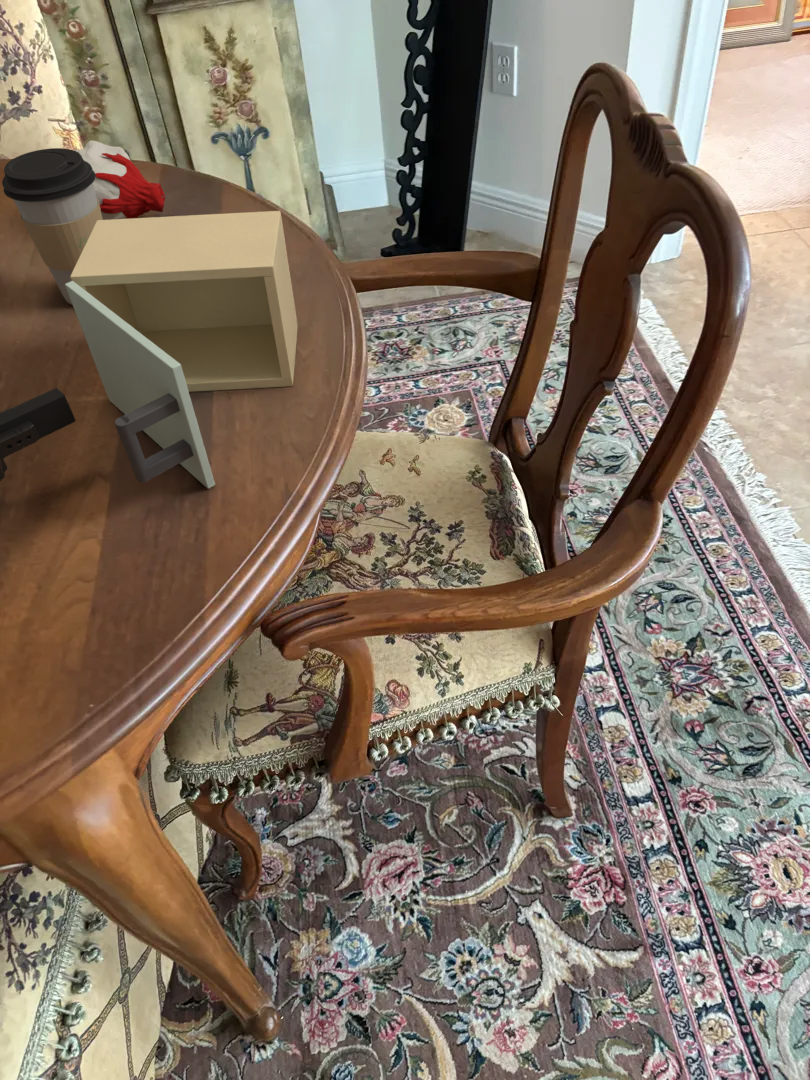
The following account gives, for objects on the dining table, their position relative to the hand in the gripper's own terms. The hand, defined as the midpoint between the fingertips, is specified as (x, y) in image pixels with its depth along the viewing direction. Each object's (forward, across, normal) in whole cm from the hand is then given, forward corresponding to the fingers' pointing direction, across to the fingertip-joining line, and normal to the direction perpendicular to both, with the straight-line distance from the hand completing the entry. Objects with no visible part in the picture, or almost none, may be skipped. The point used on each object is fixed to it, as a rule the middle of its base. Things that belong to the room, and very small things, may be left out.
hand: (66, 404), depth 66 cm
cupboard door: (+4, +1, -7) cm, 8 cm away
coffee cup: (+15, -29, -8) cm, 33 cm away
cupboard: (+17, -7, -7) cm, 20 cm away
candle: (+27, -44, -8) cm, 52 cm away
